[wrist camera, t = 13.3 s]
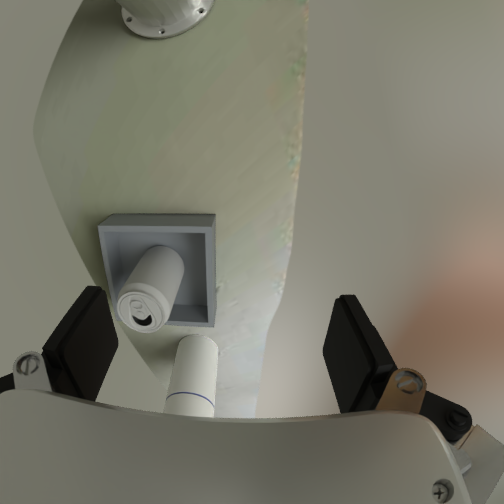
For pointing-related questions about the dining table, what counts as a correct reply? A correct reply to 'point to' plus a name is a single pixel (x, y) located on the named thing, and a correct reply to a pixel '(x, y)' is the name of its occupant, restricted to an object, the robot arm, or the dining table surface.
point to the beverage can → (151, 290)
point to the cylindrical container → (193, 378)
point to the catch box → (172, 236)
